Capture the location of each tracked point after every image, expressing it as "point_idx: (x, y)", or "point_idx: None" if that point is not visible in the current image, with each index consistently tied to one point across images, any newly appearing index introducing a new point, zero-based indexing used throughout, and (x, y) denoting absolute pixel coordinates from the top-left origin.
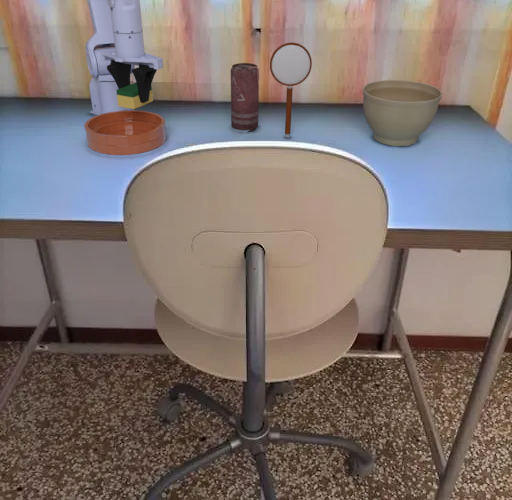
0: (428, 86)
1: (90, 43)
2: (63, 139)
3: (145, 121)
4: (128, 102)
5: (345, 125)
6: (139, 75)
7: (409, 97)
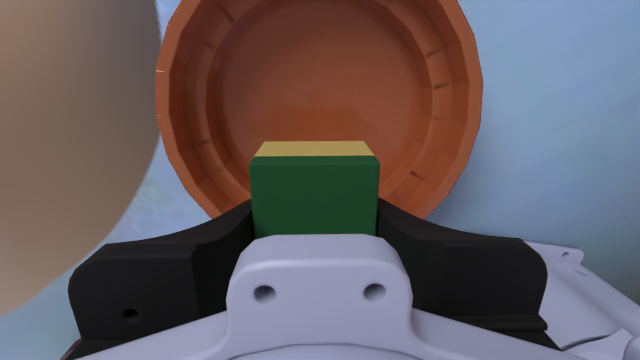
0: None
1: None
2: (541, 23)
3: None
4: (293, 147)
5: None
6: (141, 242)
7: None
